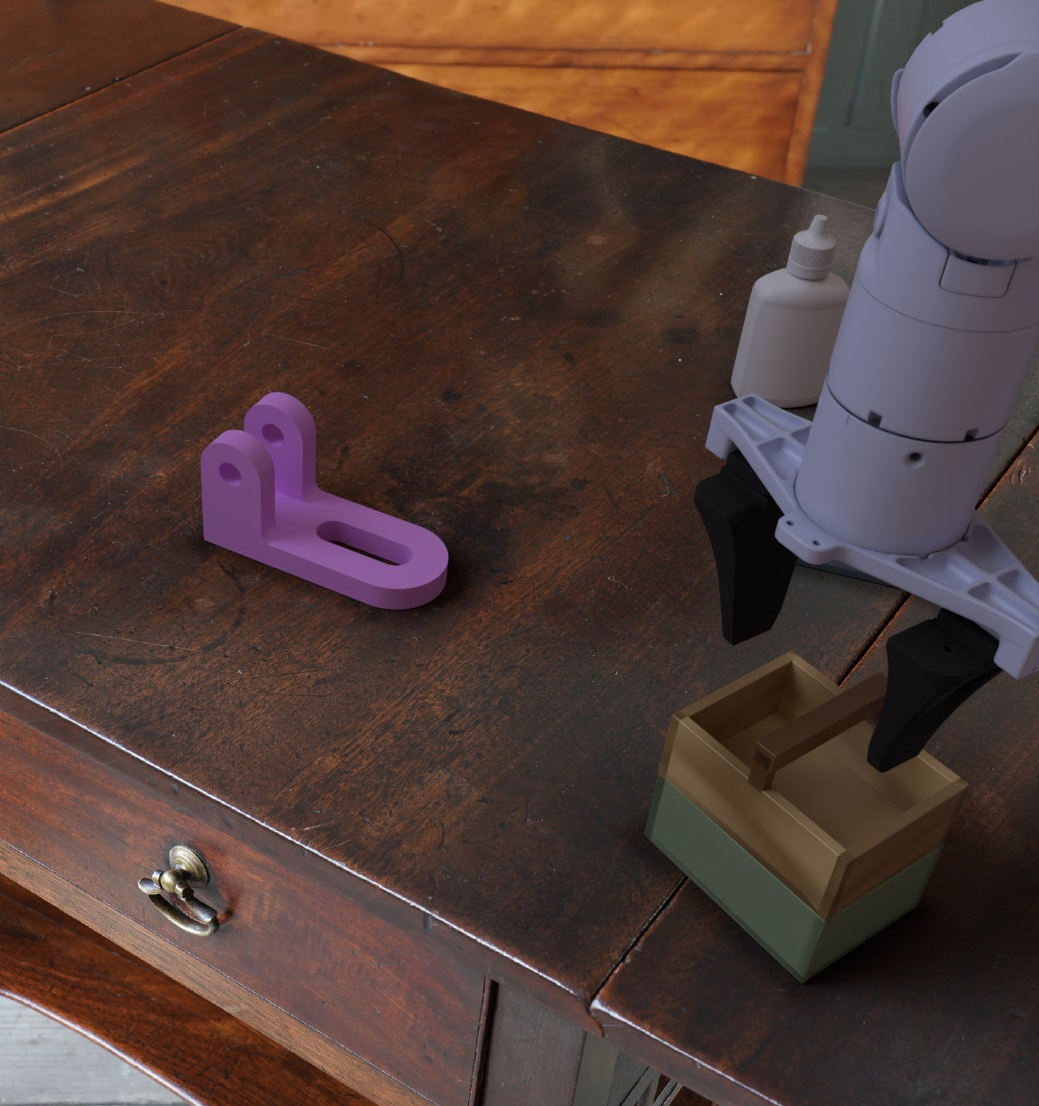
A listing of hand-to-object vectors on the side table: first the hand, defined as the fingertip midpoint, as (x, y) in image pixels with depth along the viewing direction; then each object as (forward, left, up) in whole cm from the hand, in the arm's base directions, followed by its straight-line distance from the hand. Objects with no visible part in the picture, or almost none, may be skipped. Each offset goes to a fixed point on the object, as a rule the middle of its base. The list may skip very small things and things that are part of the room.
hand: (816, 692), depth 56 cm
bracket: (+27, +4, -11) cm, 30 cm away
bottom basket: (-1, 0, -10) cm, 10 cm away
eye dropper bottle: (+25, -28, -11) cm, 40 cm away
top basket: (-1, 0, -6) cm, 6 cm away
